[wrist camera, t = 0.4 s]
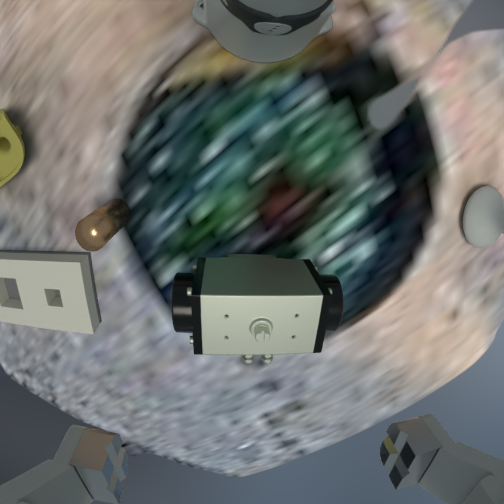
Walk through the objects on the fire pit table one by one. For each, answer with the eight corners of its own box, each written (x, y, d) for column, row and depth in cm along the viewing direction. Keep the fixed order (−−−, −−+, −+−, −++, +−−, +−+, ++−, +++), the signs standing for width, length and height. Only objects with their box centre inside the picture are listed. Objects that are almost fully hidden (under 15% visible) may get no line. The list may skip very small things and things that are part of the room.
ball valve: (188, 293, 47) (172, 373, 31) (186, 239, 44) (164, 302, 28) (306, 294, 49) (342, 370, 32) (313, 242, 46) (358, 302, 29)
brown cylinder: (103, 199, 41) (73, 217, 32) (129, 198, 42) (104, 217, 32) (105, 226, 43) (77, 251, 33) (131, 226, 43) (107, 251, 34)
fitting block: (4, 309, 46) (-6, 320, 42) (-11, 249, 42) (-23, 258, 38) (101, 320, 48) (93, 334, 44) (90, 252, 44) (80, 262, 40)
